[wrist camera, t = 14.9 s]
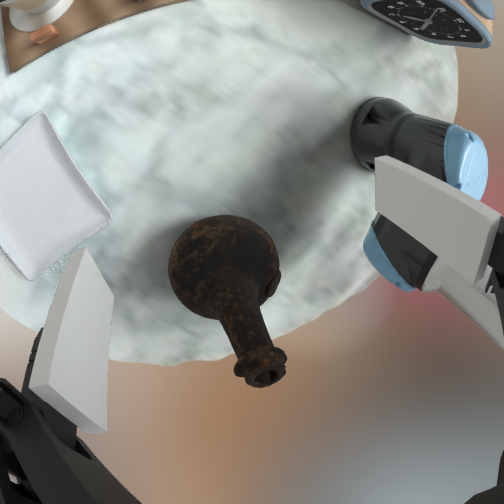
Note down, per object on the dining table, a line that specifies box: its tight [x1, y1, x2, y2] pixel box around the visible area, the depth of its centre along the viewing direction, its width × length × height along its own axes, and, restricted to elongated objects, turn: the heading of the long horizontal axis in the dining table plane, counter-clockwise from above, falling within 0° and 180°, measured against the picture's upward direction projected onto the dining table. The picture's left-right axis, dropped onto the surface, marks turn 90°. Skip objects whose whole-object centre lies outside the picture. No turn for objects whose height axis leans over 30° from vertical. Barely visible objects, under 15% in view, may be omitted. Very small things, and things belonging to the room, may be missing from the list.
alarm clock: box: [360, 0, 495, 48], centre depth 26 cm, size 21×10×22 cm, turn 83°
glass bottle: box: [168, 215, 287, 388], centre depth 41 cm, size 18×18×28 cm
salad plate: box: [0, 111, 112, 281], centre depth 36 cm, size 21×21×3 cm
